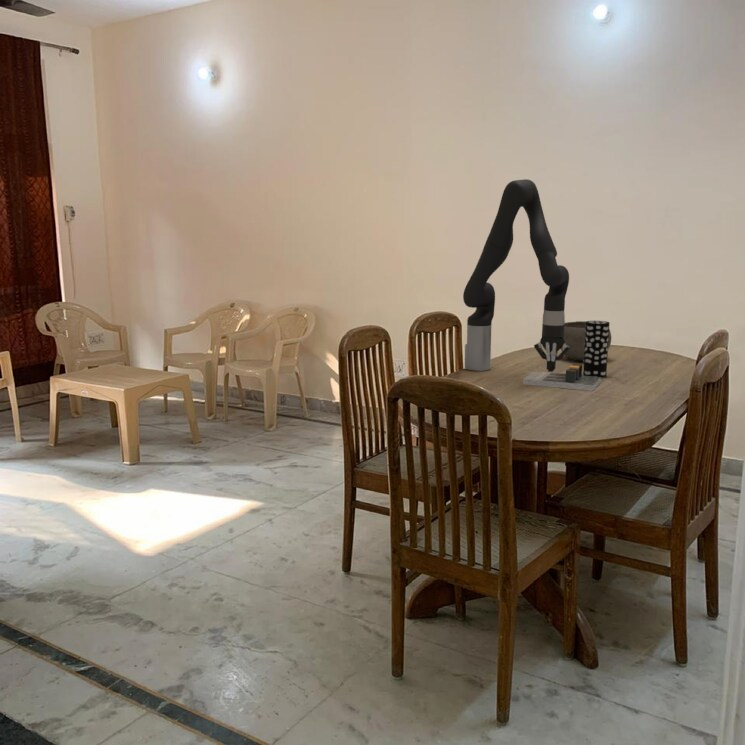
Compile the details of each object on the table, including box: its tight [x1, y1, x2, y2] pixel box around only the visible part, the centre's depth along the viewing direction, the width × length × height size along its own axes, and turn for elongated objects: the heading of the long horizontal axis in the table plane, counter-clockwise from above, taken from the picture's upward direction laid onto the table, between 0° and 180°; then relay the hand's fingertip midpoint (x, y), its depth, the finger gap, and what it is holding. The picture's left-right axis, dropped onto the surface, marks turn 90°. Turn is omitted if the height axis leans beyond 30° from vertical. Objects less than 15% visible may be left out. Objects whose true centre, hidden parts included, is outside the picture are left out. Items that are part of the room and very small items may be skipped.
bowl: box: [560, 320, 612, 362], centre depth 313 cm, size 21×21×15 cm
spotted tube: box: [582, 320, 610, 379], centre depth 282 cm, size 8×8×20 cm
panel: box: [522, 363, 602, 392], centre depth 271 cm, size 24×14×6 cm, turn 64°
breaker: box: [568, 364, 580, 379], centre depth 269 cm, size 3×3×4 cm
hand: (550, 371), depth 273 cm, fingers closed
